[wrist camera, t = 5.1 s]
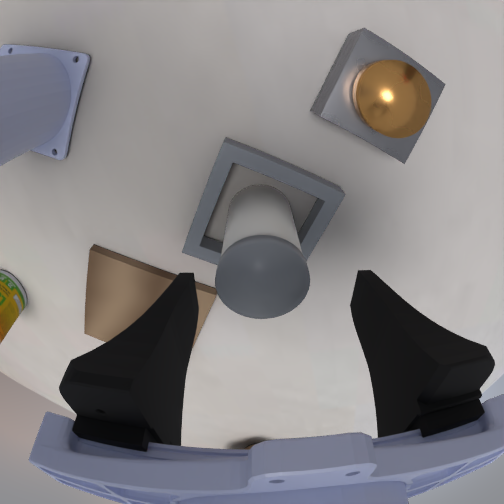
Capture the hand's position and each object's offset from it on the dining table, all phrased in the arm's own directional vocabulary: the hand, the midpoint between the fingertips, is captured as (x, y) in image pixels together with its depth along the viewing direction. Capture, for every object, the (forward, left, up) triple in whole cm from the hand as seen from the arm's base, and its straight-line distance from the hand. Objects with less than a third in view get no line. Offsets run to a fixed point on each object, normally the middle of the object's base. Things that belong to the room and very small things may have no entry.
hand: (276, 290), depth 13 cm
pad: (-6, -14, -9) cm, 18 cm away
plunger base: (+3, +10, -9) cm, 14 cm away
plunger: (+3, +10, -8) cm, 13 cm away
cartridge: (0, -1, -9) cm, 9 cm away
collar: (0, -1, -9) cm, 9 cm away
